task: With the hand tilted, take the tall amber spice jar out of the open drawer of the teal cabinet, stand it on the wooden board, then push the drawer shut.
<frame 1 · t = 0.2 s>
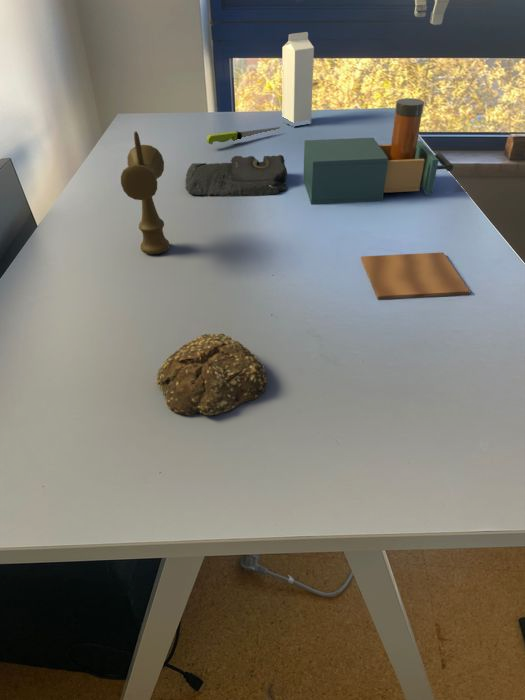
hand: (427, 20, 95), 29 cm above the table, tool pointing down, fingers open, 8 cm apart
spice jar: (398, 178, 108), point 2 cm above the table, touching drawer
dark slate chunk: (236, 182, 114), on the table
cabinet: (341, 190, 109), on the table
wooden board: (412, 276, 82), on the table
kendama: (155, 250, 91), on the table
milk: (296, 124, 146), on the table
kitchen knife: (245, 142, 135), on the table
bread roll: (209, 383, 64), on the table
drawer: (404, 167, 107), point 4 cm above the table, slide at 9.0 cm, touching spice jar
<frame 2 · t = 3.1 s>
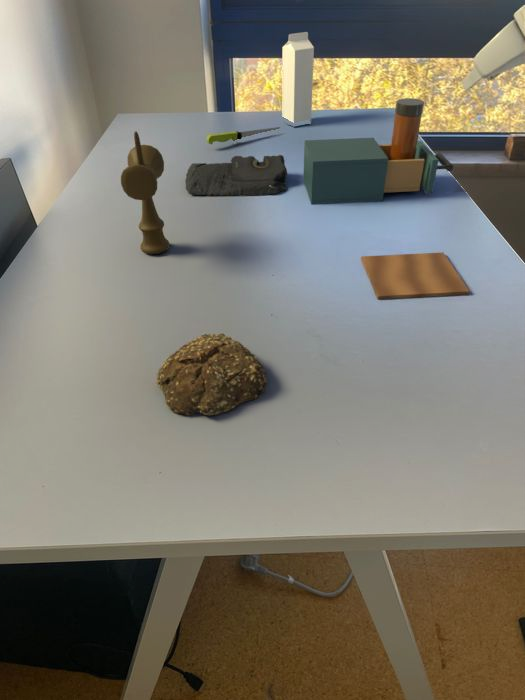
hand: (476, 81, 91), 22 cm above the table, tool tilted 45°, fingers open, 8 cm apart
nothing on the table moved.
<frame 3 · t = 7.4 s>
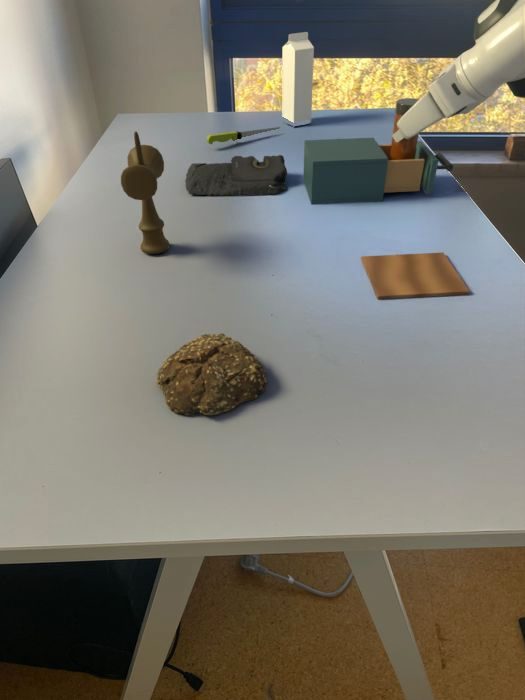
hand: (402, 134, 103), 11 cm above the table, tool tilted 45°, fingers closed on spice jar, 5 cm apart
spice jar: (398, 178, 108), point 2 cm above the table, touching drawer, gripper
everything else where it was.
when the fingers open (9 cm above the table, at t = 20.4 s): spice jar stays where it is, resting on wooden board.
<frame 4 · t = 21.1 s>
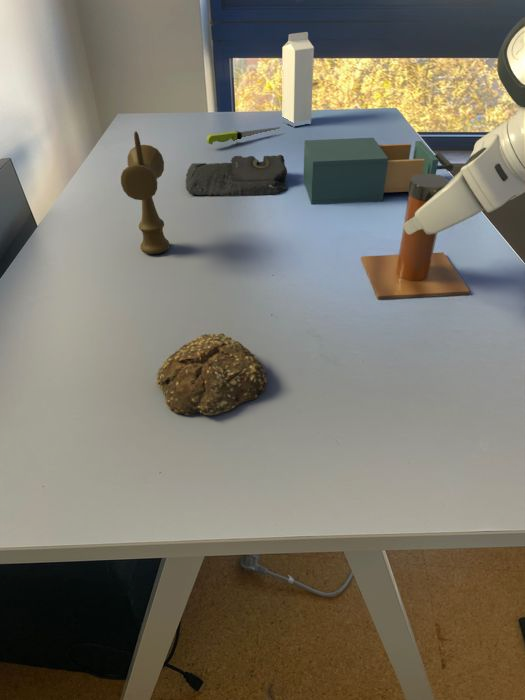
hand: (419, 216, 76), 10 cm above the table, tool tilted 45°, fingers open, 8 cm apart
spice jar: (412, 272, 82), point 1 cm above the table, touching wooden board
drawer: (404, 167, 107), point 4 cm above the table, slide at 9.0 cm
everything else where it was.
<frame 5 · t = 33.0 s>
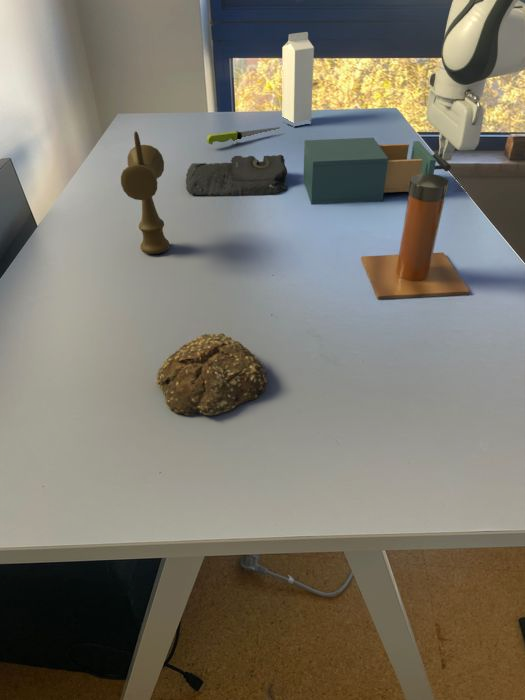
hand: (444, 158, 106), 6 cm above the table, tool pointing down, fingers closed, pressing on drawer
drawer: (402, 167, 107), point 4 cm above the table, slide at 8.5 cm, touching gripper
everything else where it was.
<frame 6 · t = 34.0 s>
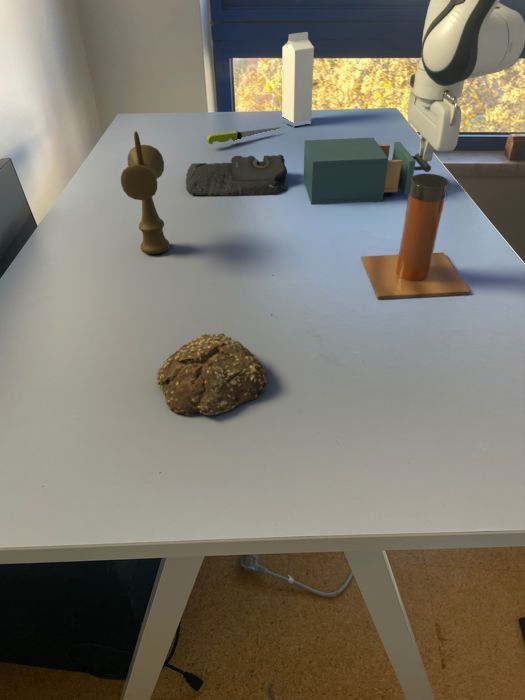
hand: (425, 158, 106), 6 cm above the table, tool pointing down, fingers closed, pressing on drawer
drawer: (382, 168, 107), point 4 cm above the table, slide at 4.5 cm, touching gripper
everything else where it was.
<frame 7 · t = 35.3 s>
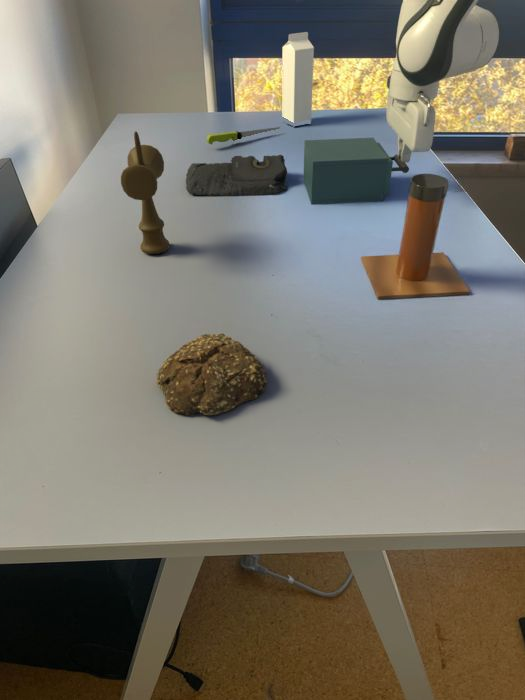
hand: (403, 160, 106), 6 cm above the table, tool pointing down, fingers closed, pressing on drawer
drawer: (361, 169, 106), point 4 cm above the table, slide at 0.0 cm, touching cabinet, gripper
everything else where it was.
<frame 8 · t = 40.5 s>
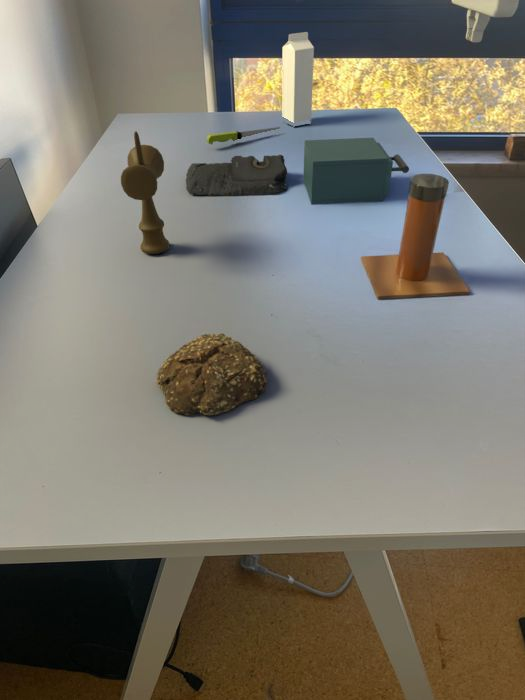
hand: (473, 41, 91), 27 cm above the table, tool pointing down, fingers closed
drawer: (361, 169, 106), point 4 cm above the table, slide at 0.0 cm, touching cabinet
everything else where it was.
at the end: spice jar inside the target area on the wooden board (0.1 cm from its centre), point 0.6 cm above the wooden board's base; spice jar tilted 0°; drawer slide at 0.0 cm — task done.
